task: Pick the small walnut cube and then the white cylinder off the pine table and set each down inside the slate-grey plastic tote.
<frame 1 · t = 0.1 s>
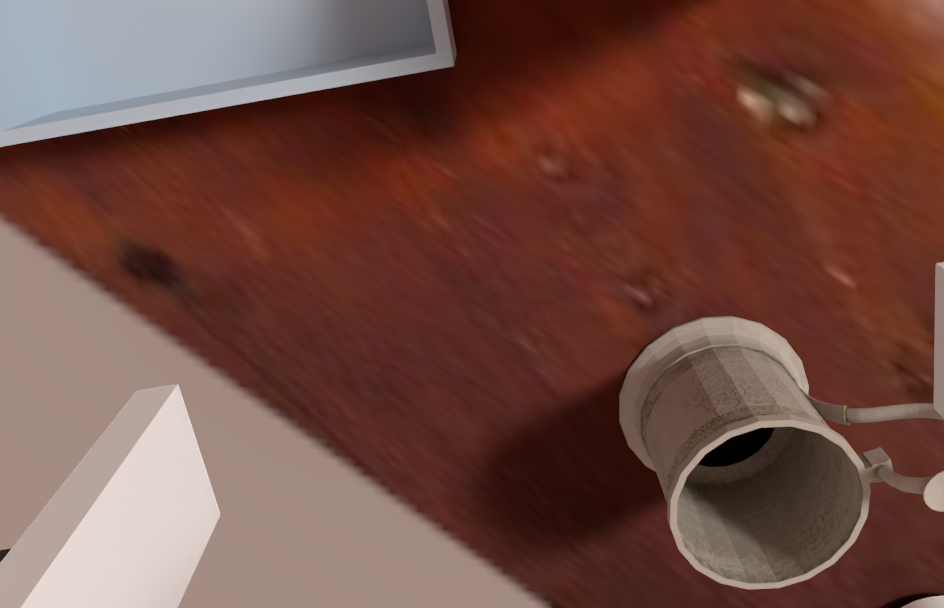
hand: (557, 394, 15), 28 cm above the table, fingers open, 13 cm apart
mug: (754, 387, 47), on the table
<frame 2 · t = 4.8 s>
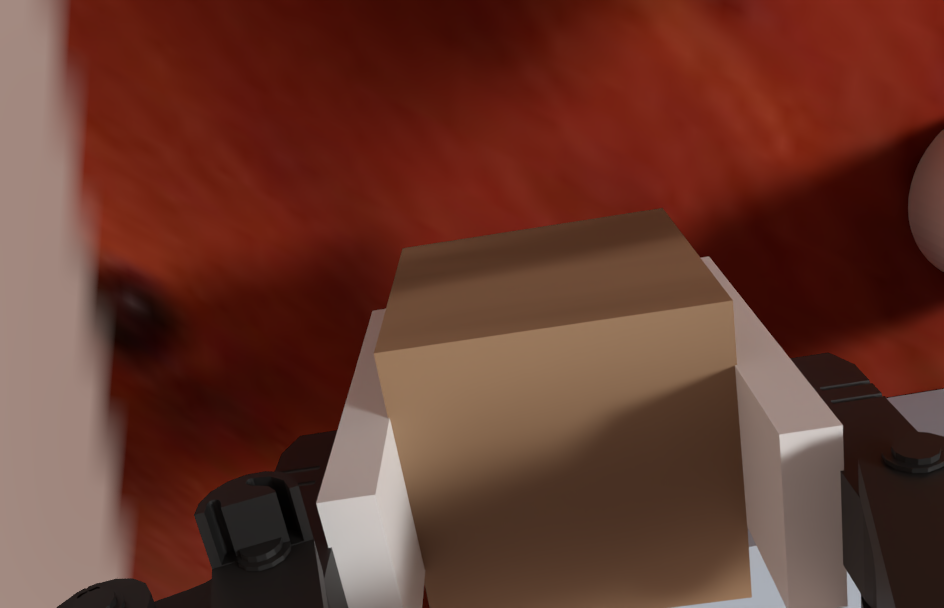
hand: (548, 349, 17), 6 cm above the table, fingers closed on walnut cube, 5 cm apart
walnut cube: (548, 347, 18), point 6 cm above the table, touching gripper
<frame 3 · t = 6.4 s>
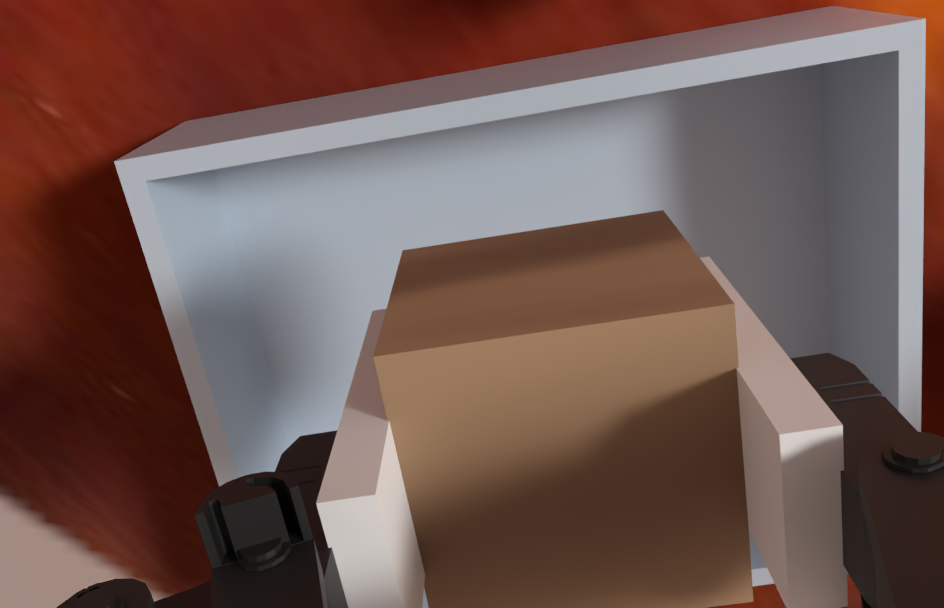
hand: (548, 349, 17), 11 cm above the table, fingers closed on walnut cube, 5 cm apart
walnut cube: (548, 349, 18), point 11 cm above the table, touching gripper
tote: (538, 303, 29), on the table
when the fingers open (2 cm above the table, at t = 8.2 s): walnut cube stays where it is, resting on tote.
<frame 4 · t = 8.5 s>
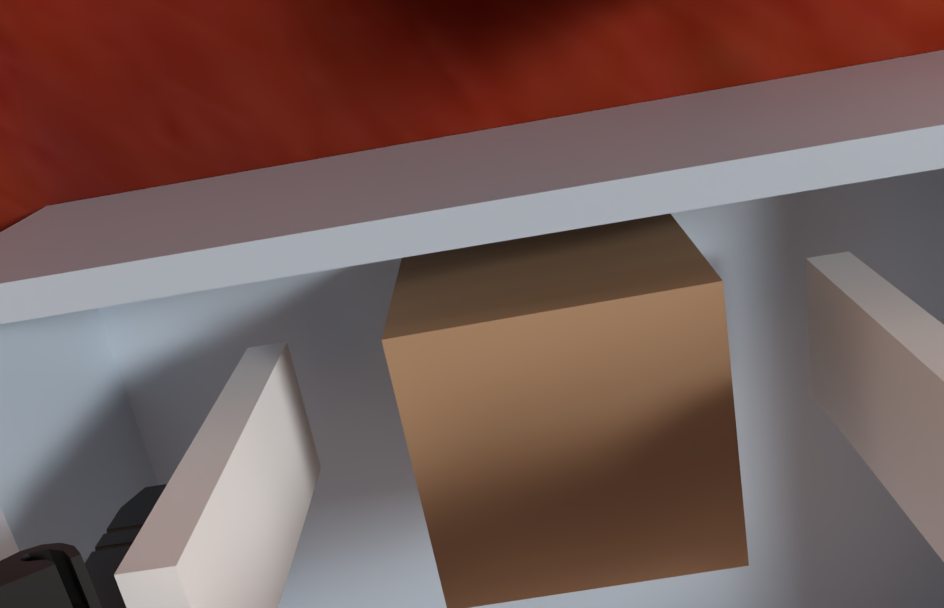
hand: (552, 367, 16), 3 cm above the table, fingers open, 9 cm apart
walnut cube: (549, 332, 18), point 1 cm above the table, touching tote
tote: (564, 456, 20), on the table
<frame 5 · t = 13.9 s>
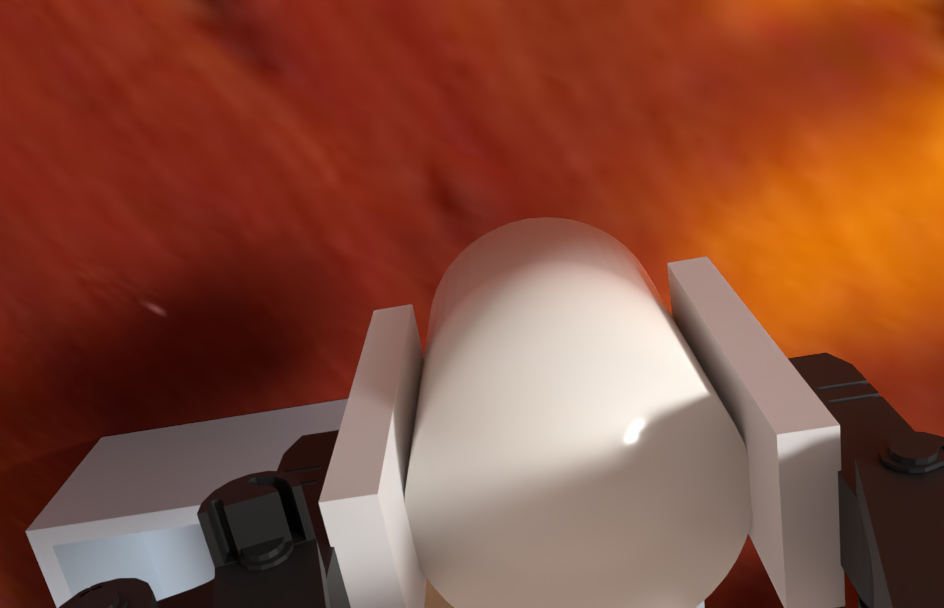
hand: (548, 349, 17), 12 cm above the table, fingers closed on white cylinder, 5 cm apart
white cylinder: (544, 329, 19), point 10 cm above the table, touching gripper
walnut cube: (396, 509, 31), point 1 cm above the table, touching tote
tote: (413, 576, 33), on the table
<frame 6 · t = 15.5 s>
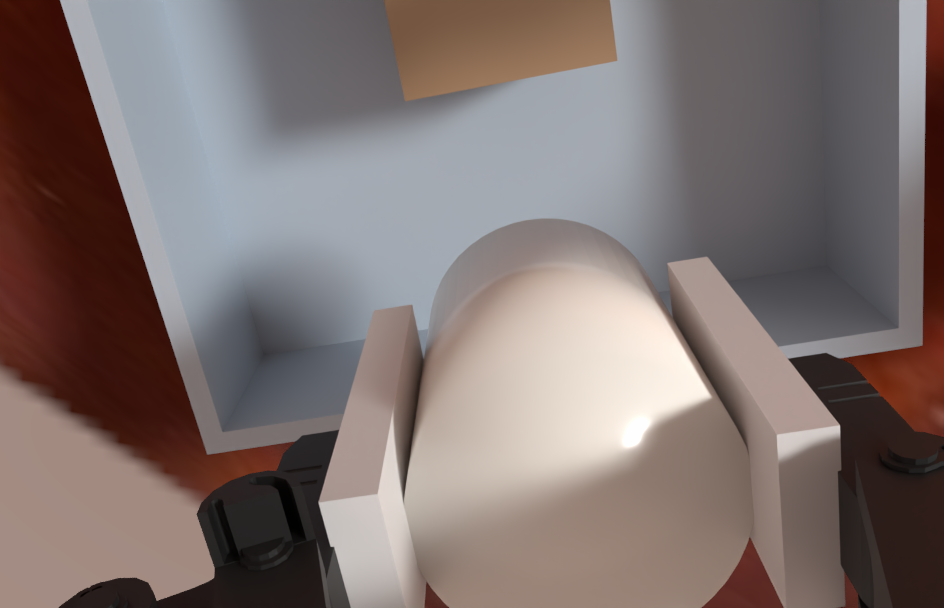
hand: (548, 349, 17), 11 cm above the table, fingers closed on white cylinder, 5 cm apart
white cylinder: (544, 330, 19), point 9 cm above the table, touching gripper
tote: (503, 86, 26), on the table
when the fingers open (2 cm above the table, at t = 17.2 s): white cylinder stays where it is, resting on tote.
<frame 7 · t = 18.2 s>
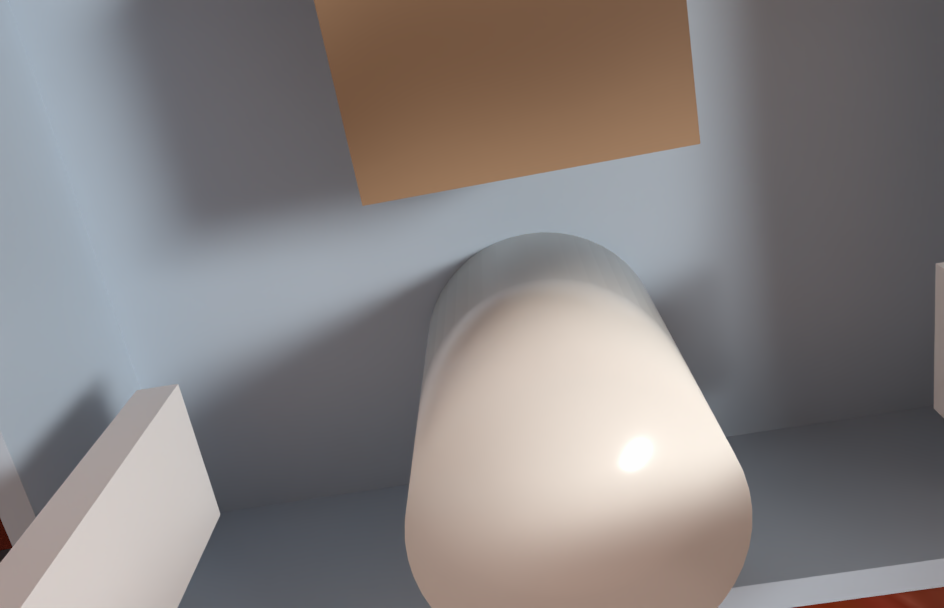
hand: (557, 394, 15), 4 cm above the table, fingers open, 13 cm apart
white cylinder: (542, 342, 19), point 1 cm above the table, touching tote
tote: (513, 157, 19), on the table
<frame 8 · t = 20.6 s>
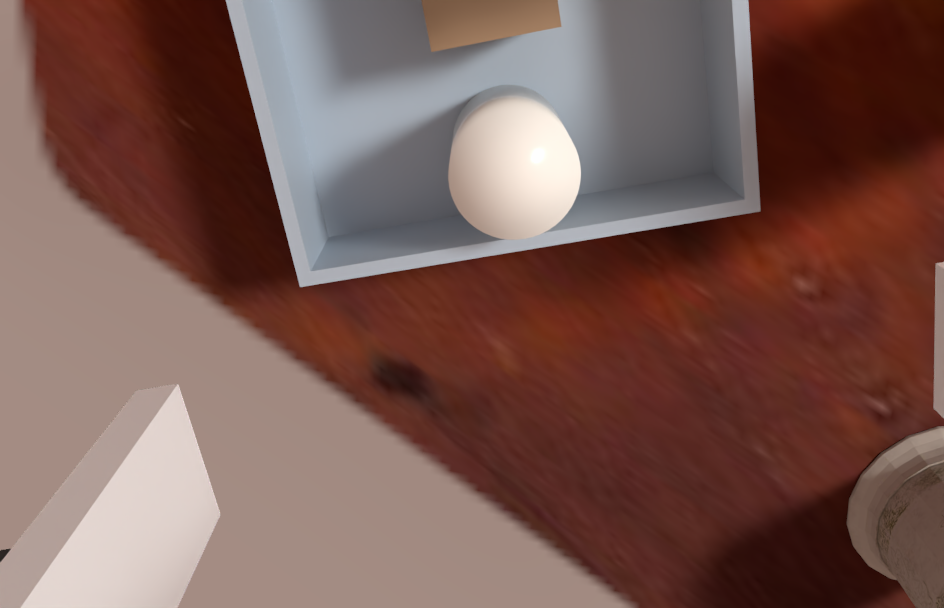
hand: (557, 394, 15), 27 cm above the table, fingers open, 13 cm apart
white cylinder: (508, 141, 40), point 1 cm above the table, touching tote
tote: (493, 49, 39), on the table
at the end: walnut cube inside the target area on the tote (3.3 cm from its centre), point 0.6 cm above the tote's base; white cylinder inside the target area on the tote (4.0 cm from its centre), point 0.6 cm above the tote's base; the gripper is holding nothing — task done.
